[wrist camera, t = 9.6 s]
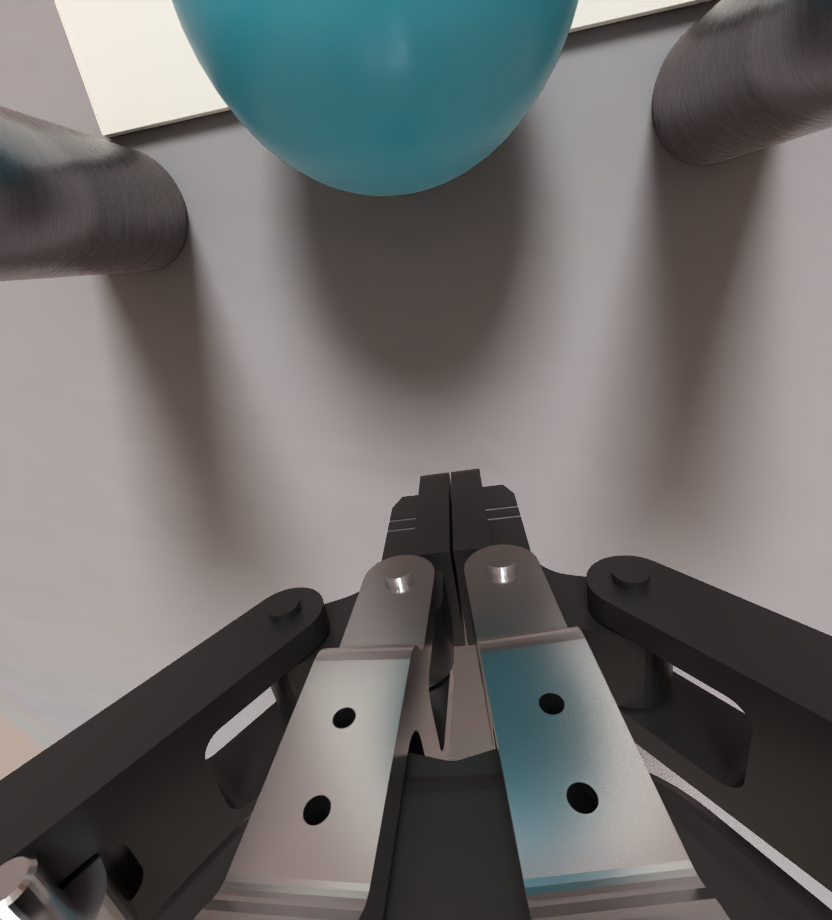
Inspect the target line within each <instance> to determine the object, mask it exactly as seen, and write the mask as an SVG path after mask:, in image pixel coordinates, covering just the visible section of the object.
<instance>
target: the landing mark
mask: <svg viewBox="0 0 832 920" xmlns="http://www.w3.org/2000/svg"><path fill="white" fill-rule="evenodd" d="M54 1H55V4H56V7H57V10H58V12H59V15H60V18H61V21H62V23H63V26H64V29H65V32H66V35H67V37H68V40H69V43H70V46H71V49H72V51H73V54H74V57H75V60H76V63H77V65H78V68H79V71H80V74H81V77H82V79H83V82H84V85H85V88H86V91H87V93H88V96H89V99H90V102H91V105H92V107H93V110H94V113H95V116H96V119H97V121H98V124H99V127H100V130H101V133H102V135H103V136H105V137H108V138H109V137H114V136H118V135H122V134H127V133H131V132H136V131H140V130H144V129H149V128H153V127H157V126H162V125H166V124H171V123H175V122H179V121H184V120H188V119H193V118H197V117H201V116H206V115H210V114H215V113H219V112H223V111H228V110H230V108H229V107H228V106H227V104H226V103H225V102H224V100H223V99H222V98H221V96H220V95H219V94H218V92H217V91H216V89H215V88H214V86H213V84H212V83H211V81H210V79H209V78H208V76H207V75H206V73H205V71H204V70H203V68H202V66H201V65H200V63H199V62H198V60H197V58H196V55H195V53H194V51H193V49H192V47H191V45H190V43H189V41H188V39H187V37H186V35H185V33H184V31H183V29H182V27H181V24H180V21H179V19H178V16H177V13H176V11H175V8H174V5H173V3H172V0H54ZM707 1H711V0H579V1H578V5H577V8H576V12H575V15H574V19H573V22H572V26H571V28H570V31H569V33H571V32H575V31H579V30H584V29H588V28H593V27H597V26H601V25H606V24H610V23H615V22H619V21H623V20H628V19H632V18H637V17H641V16H645V15H650V14H654V13H659V12H663V11H667V10H672V9H676V8H681V7H685V6H689V5H694V4H698V3H703V2H707Z"/></svg>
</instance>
